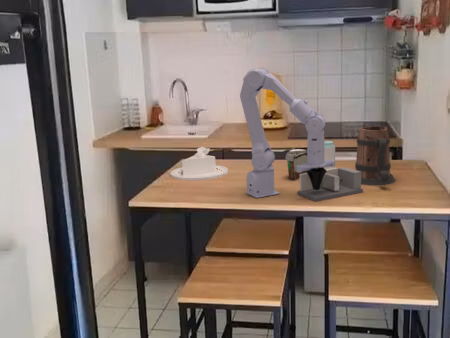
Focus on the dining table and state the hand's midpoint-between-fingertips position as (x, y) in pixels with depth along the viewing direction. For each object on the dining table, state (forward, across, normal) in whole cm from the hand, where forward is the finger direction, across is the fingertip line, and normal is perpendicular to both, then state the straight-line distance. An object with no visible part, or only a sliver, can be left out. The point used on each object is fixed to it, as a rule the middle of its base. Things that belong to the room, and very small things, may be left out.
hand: (316, 189), depth 176 cm
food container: (+3, +9, +27) cm, 29 cm away
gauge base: (+2, +6, 0) cm, 6 cm away
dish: (+3, -20, +57) cm, 60 cm away
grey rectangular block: (+1, +8, 0) cm, 8 cm away
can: (+3, +26, +29) cm, 39 cm away
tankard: (+3, +29, +3) cm, 29 cm away
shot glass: (+3, +21, +43) cm, 48 cm away
